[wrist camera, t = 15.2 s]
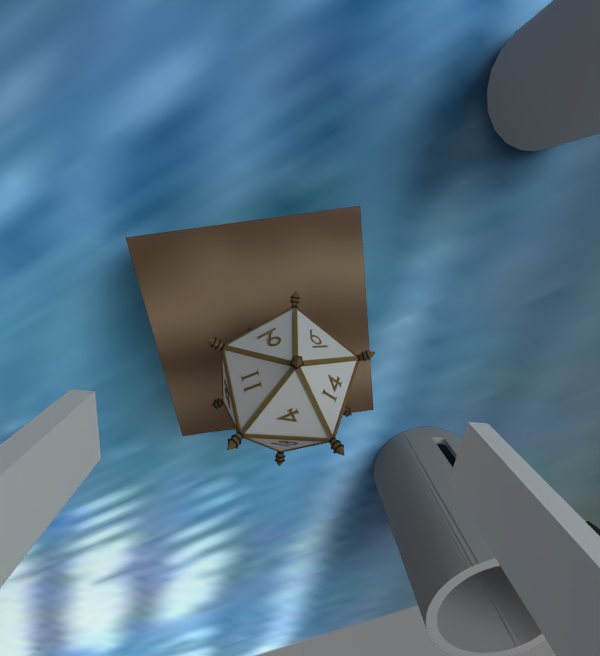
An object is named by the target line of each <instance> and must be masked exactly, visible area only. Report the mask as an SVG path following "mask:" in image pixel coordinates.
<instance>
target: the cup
mask: <svg viewBox="0 0 600 656" xmlns="http://www.w3.org/2000/svg"><path fill="white" fill-rule="evenodd" d="M437 444H443V445H446V446H447V448H448V449H449V450H450V452H451V453H452V454H453V456H454V457H455V458H456V457H457V454H458V451H459V448H460V445H461V440H460V439H459V438H458V437H457V436H456V435H454V434H452V433H451V432H449V431H447V430H444V429H441V428H436V427H420V428H414V429H410V430H407V431H404V432H403V433H400V434H398V435H397V436H395V437H394V438H392V439H391V440H390V441H389V442H387V444H385V446H383V448H382V449H381V450H380V452H379V453H378V455H377V457H376V460H375V463H374V467H373V476H374V481H375V484H376V487H377V490H378V493H379V495H380V498H381V501H382V504H383V507H384V510H385V512H386V515H387V518H388V521H389V524H390V527H391V529H392V532H393V535H394V538H395V541H396V544H397V546H398V549H399V552H400V555H401V558H402V561H403V563H404V566H405V569H406V572H407V575H408V578H409V580H410V583H411V586H412V589H413V592H414V595H415V597H416V600H417V603H418V606H419V609H420V612H421V614H422V617H423V620H424V623H425V626H426V629H427V631H428V633H429V636H430V637H431V639H432V640H433V642H434V643H435V644H436V645H437V646H439V647H440V648H441V649H442V650H444V651H445V652H448V653H450V654H453V655H456V656H510V655H513V654H517V653H520V652H522V651H525V650H527V649H529V648H531V647H533V646H535V645H537V644H539V643H540V642H542V641H544V640H546V639H545V637H544V635H543V634H542V632H541V630H540V629H539V627H538V626H537V624H536V622H535V621H534V619H533V618H532V616H531V614H530V613H529V611H528V610H527V608H526V606H525V605H524V603H523V601H522V600H521V598H520V597H519V595H518V593H517V592H516V590H515V589H514V587H513V585H512V584H511V582H510V581H509V579H508V577H507V576H506V574H505V572H504V571H503V569H502V568H501V566H500V564H499V563H498V561H497V560H496V558H495V556H494V555H493V553H492V552H491V550H490V548H489V547H488V545H487V543H486V542H485V540H484V539H483V537H482V535H481V534H480V532H479V531H478V529H477V527H476V526H475V524H474V523H473V521H472V519H471V518H470V516H469V514H468V513H467V511H466V510H465V508H464V506H463V505H462V503H461V502H460V500H459V498H458V497H457V495H456V494H455V492H454V490H453V489H452V487H451V485H450V484H449V482H448V481H449V478H450V475H451V472H452V469H453V467H452V466H451V464H450V463H449V461H448V460H447V458H446V457H445V456H444V454H443V453H442V451H441V450H440V448H439V447H438V446H437Z"/></svg>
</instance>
